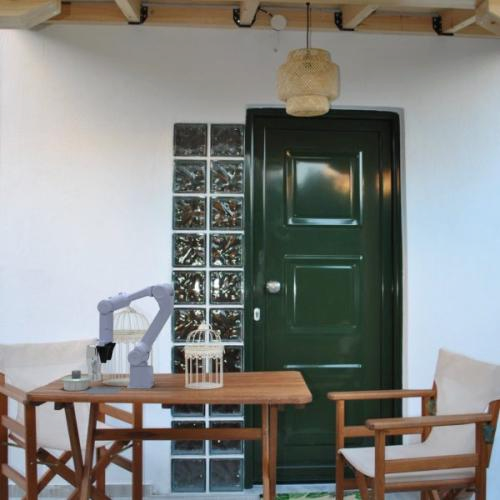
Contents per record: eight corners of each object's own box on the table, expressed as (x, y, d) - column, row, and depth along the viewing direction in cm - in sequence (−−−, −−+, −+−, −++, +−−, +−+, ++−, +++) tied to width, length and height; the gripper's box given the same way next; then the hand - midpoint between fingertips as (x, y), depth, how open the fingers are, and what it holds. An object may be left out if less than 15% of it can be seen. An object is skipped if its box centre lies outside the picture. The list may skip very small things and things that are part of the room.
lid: (95, 377, 265) (95, 368, 265) (86, 382, 253) (86, 373, 253) (66, 376, 266) (66, 368, 266) (56, 382, 254) (56, 373, 254)
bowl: (90, 387, 264) (90, 377, 264) (83, 391, 255) (83, 381, 255) (68, 387, 264) (68, 377, 264) (61, 391, 255) (61, 381, 255)
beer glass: (98, 382, 274) (98, 346, 274) (83, 381, 275) (83, 346, 276) (105, 379, 281) (105, 344, 281) (90, 378, 282) (90, 344, 283)
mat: (123, 388, 262) (123, 387, 262) (115, 394, 249) (115, 393, 249) (92, 387, 263) (92, 386, 263) (82, 394, 250) (82, 393, 250)
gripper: (101, 326, 275) (101, 358, 274) (91, 330, 260) (91, 364, 260) (117, 326, 274) (117, 359, 274) (109, 330, 260) (108, 364, 260)
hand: (106, 361), depth 267 cm, fingers open, 7 cm apart
